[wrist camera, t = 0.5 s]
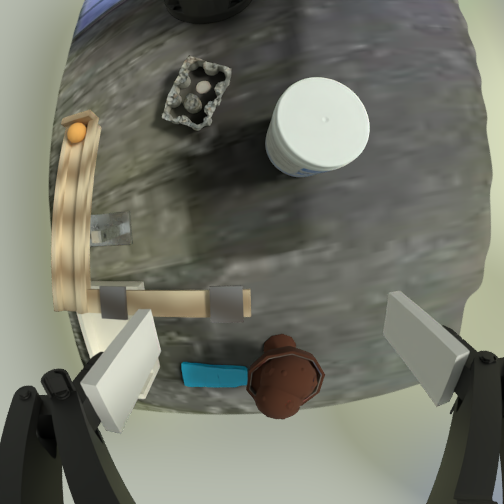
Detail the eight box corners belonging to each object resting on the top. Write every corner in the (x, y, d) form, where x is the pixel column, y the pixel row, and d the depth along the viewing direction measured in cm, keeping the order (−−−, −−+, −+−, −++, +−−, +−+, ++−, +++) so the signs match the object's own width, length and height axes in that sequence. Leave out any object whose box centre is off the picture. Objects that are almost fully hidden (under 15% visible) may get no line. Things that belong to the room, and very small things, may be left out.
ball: (75, 127, 31) (64, 123, 28) (90, 122, 31) (79, 118, 28) (74, 146, 31) (62, 143, 28) (89, 142, 31) (78, 138, 28)
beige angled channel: (76, 129, 32) (62, 118, 28) (244, 101, 32) (243, 84, 28) (65, 312, 31) (48, 316, 27) (251, 318, 31) (250, 326, 27)
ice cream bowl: (293, 379, 45) (306, 440, 31) (236, 360, 44) (231, 423, 30) (323, 333, 43) (350, 390, 29) (263, 310, 42) (268, 367, 28)
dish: (80, 280, 41) (50, 299, 32) (143, 281, 41) (118, 304, 32) (101, 359, 45) (80, 386, 36) (160, 366, 45) (144, 399, 36)
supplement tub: (293, 190, 38) (318, 191, 24) (250, 139, 37) (250, 111, 22) (343, 151, 37) (389, 134, 23) (302, 101, 35) (327, 60, 21)
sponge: (247, 392, 45) (249, 371, 43) (183, 387, 45) (179, 365, 43) (247, 387, 47) (249, 365, 45) (184, 381, 47) (181, 360, 45)
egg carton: (194, 62, 34) (188, 51, 30) (238, 77, 35) (236, 65, 31) (162, 120, 36) (153, 114, 32) (206, 137, 37) (201, 131, 33)
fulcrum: (75, 217, 39) (46, 223, 31) (130, 211, 39) (104, 217, 31) (78, 246, 40) (51, 257, 32) (132, 243, 40) (109, 255, 32)
